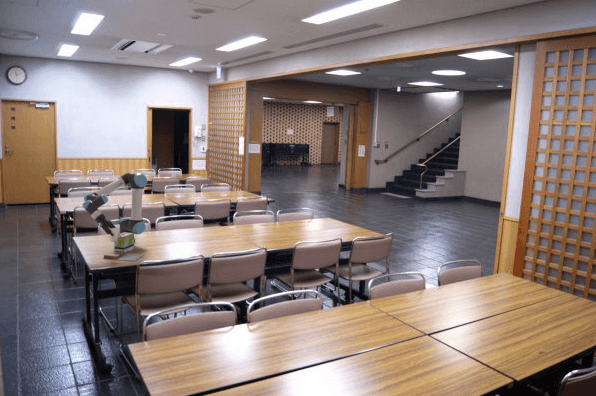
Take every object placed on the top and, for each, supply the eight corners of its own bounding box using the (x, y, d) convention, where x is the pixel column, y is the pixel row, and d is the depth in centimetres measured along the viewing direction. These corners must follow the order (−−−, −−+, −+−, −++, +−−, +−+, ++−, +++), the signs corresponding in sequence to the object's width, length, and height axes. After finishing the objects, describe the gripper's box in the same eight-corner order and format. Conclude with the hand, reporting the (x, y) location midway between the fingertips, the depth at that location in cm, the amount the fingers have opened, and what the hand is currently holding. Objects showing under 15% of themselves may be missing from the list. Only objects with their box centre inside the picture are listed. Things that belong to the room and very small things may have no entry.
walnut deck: (112, 253, 384) (112, 250, 384) (124, 254, 383) (124, 251, 383) (103, 258, 370) (103, 255, 370) (116, 259, 369) (116, 256, 369)
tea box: (124, 253, 385) (124, 236, 383) (113, 252, 387) (113, 235, 385) (134, 249, 400) (134, 232, 398) (124, 248, 402) (123, 231, 400)
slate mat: (127, 254, 385) (127, 253, 385) (143, 255, 384) (143, 254, 384) (117, 260, 367) (117, 259, 367) (134, 261, 366) (134, 260, 366)
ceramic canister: (112, 239, 378) (112, 227, 376) (119, 240, 377) (118, 228, 376) (109, 241, 372) (108, 229, 371) (115, 241, 372) (115, 229, 370)
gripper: (101, 217, 383) (120, 237, 384) (89, 221, 364) (109, 243, 365) (107, 211, 381) (126, 232, 382) (95, 215, 363) (115, 237, 364)
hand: (118, 237), depth 374 cm, fingers closed on ceramic canister, 5 cm apart
